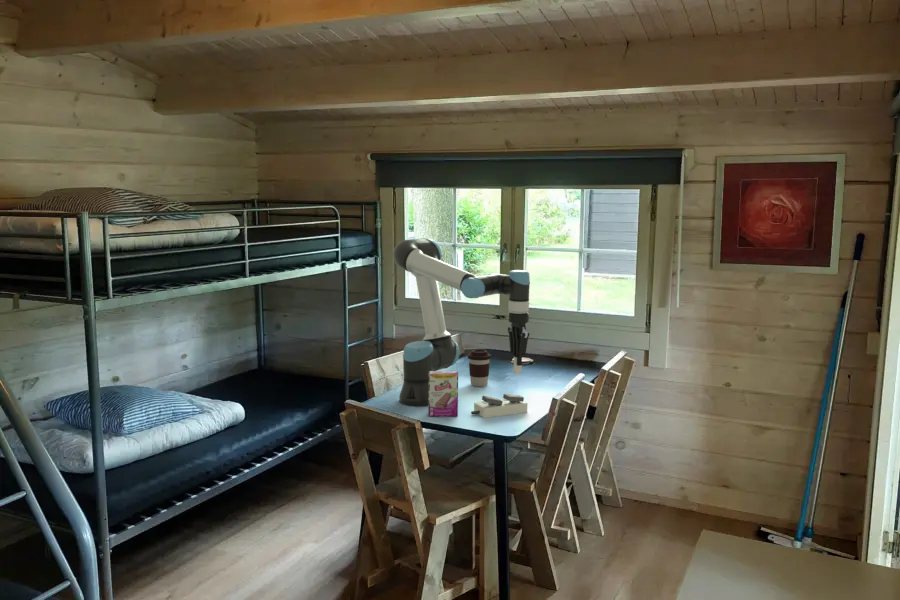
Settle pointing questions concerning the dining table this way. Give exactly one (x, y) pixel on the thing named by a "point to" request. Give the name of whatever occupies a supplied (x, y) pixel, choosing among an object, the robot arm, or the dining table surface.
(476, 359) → the coffee cup
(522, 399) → the rocker
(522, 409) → the power strip
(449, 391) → the candy bar box
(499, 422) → the dining table surface
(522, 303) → the robot arm
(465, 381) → the dining table surface
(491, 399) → the rocker
